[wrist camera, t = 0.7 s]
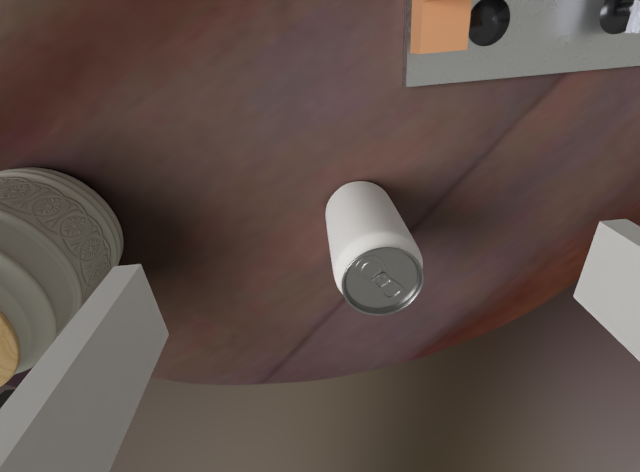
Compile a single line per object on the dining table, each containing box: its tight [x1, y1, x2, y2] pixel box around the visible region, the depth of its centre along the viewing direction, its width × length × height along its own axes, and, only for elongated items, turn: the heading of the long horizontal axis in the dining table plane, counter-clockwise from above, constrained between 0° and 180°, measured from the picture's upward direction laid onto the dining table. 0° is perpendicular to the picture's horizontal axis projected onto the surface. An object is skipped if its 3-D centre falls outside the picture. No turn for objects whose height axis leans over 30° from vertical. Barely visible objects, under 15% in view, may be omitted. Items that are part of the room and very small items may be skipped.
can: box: [326, 181, 424, 316], centre depth 29 cm, size 6×6×12 cm
